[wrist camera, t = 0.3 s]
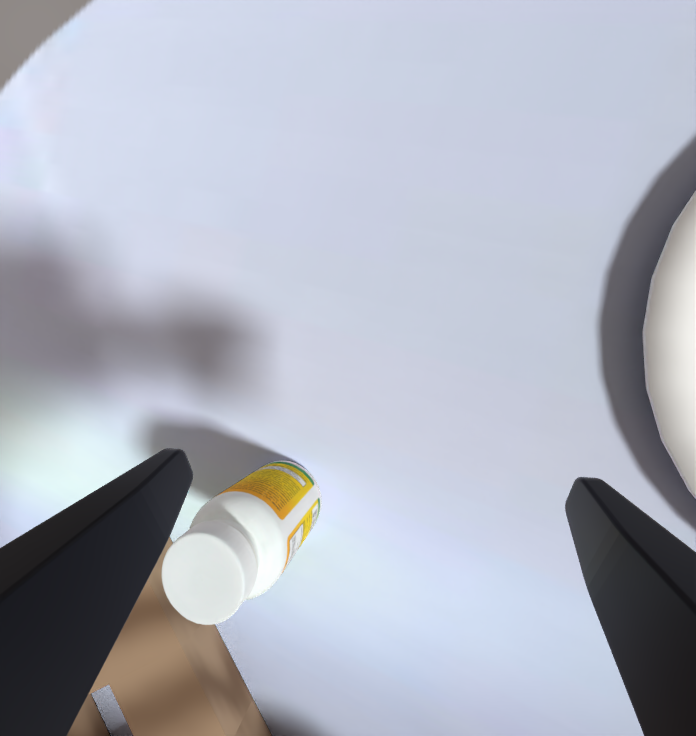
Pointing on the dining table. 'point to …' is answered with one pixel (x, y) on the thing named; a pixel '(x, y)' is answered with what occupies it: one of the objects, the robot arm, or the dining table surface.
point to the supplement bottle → (241, 542)
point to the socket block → (171, 676)
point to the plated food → (674, 344)
